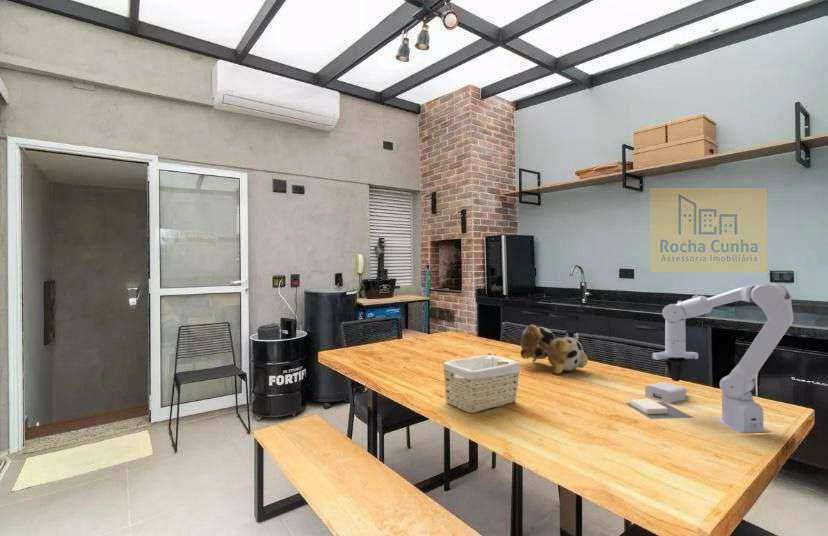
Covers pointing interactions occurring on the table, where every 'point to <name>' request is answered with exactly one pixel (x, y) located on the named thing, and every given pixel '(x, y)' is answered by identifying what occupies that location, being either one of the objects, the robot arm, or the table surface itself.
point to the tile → (648, 406)
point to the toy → (552, 349)
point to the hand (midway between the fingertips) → (675, 380)
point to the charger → (666, 392)
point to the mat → (671, 414)
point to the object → (481, 382)
